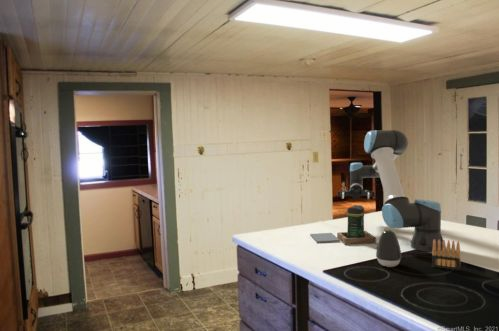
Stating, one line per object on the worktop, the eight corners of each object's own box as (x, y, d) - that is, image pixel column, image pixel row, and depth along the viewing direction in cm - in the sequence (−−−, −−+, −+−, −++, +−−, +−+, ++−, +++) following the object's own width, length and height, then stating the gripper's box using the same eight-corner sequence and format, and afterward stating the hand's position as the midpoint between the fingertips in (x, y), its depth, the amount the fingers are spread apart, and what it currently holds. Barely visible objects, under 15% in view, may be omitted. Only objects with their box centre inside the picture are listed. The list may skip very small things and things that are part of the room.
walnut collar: (375, 243, 211) (375, 237, 210) (345, 244, 209) (345, 239, 209) (366, 236, 225) (366, 231, 224) (337, 238, 223) (337, 232, 223)
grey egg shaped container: (395, 260, 182) (395, 226, 180) (405, 268, 171) (405, 232, 170) (372, 261, 181) (372, 227, 180) (381, 269, 171) (380, 233, 170)
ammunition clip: (460, 269, 168) (460, 240, 167) (460, 270, 166) (460, 241, 165) (432, 266, 173) (432, 238, 173) (431, 267, 172) (431, 239, 171)
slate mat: (339, 241, 215) (339, 240, 215) (317, 243, 214) (317, 241, 214) (331, 234, 231) (331, 232, 231) (310, 235, 230) (310, 233, 230)
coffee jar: (360, 243, 211) (359, 207, 209) (345, 241, 215) (344, 206, 214) (366, 239, 219) (366, 204, 217) (352, 237, 223) (351, 203, 222)
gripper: (378, 197, 242) (379, 203, 222) (334, 196, 249) (332, 202, 228) (378, 184, 242) (379, 189, 221) (334, 184, 248) (332, 189, 228)
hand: (355, 196), depth 225 cm, fingers open, 13 cm apart
